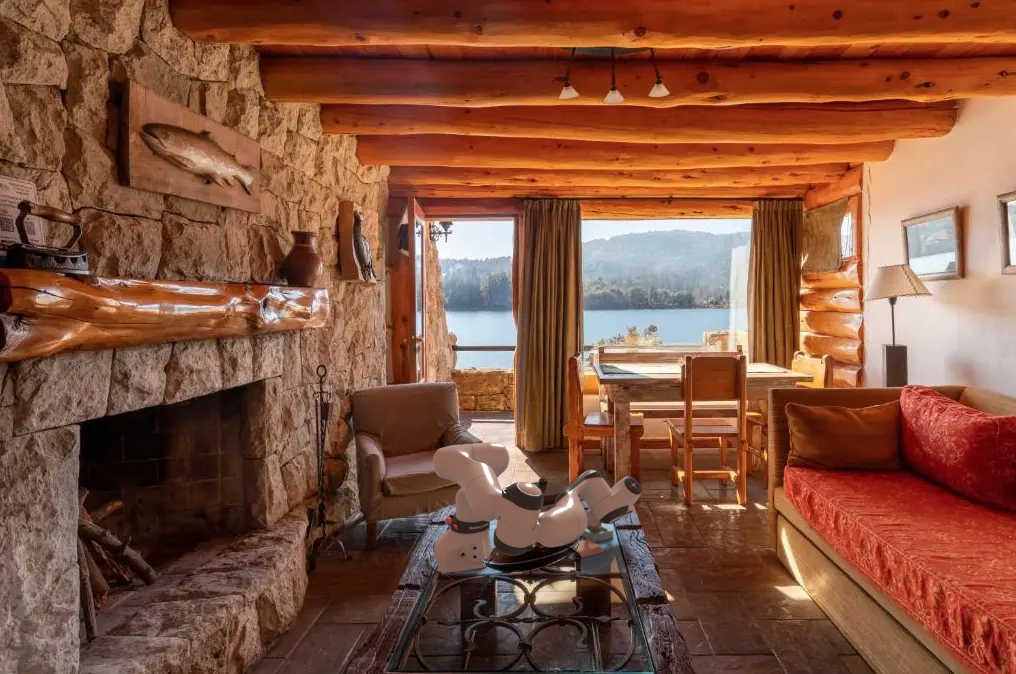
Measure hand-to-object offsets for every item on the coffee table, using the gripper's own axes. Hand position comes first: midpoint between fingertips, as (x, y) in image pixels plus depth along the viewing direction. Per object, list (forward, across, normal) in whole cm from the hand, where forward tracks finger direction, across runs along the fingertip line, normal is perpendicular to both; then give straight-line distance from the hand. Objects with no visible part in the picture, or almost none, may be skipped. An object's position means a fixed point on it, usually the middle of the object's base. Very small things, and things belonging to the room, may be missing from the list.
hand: (595, 523), depth 223 cm
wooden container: (+9, -17, +3) cm, 20 cm away
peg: (+3, 0, -3) cm, 4 cm away
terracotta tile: (-3, -10, -9) cm, 14 cm away
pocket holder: (+3, 0, -3) cm, 4 cm away
